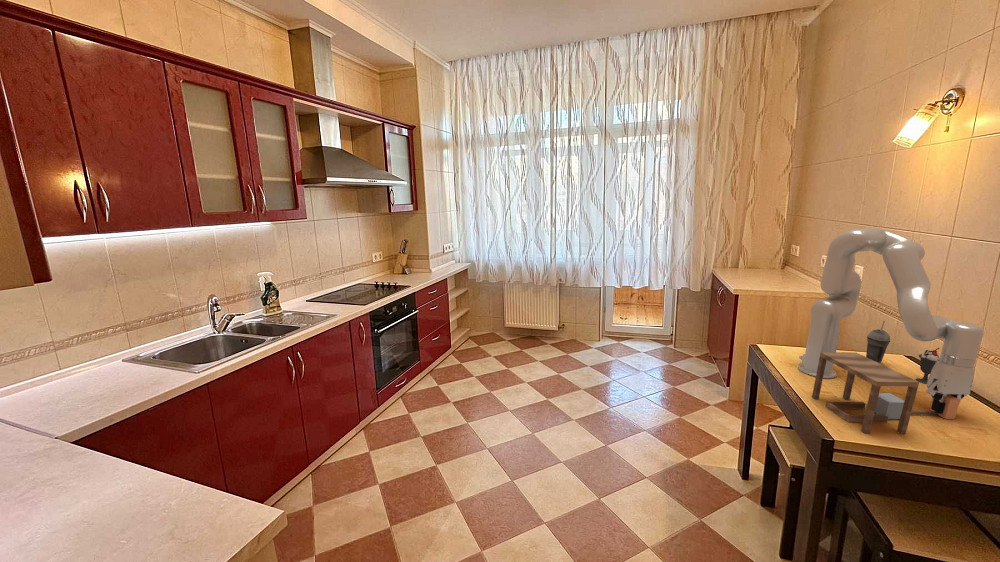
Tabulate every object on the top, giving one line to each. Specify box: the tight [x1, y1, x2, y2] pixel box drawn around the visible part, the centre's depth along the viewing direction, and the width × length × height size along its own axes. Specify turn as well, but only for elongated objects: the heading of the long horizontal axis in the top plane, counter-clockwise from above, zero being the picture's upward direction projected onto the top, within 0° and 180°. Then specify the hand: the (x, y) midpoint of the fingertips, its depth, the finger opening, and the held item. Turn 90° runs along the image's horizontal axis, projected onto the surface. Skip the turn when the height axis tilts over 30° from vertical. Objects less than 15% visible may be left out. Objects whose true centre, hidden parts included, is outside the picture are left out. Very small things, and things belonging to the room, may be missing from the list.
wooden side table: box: [811, 351, 920, 435], centre depth 132 cm, size 22×13×18 cm, turn 179°
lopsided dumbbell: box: [874, 392, 961, 420], centre depth 133 cm, size 6×23×7 cm, turn 89°
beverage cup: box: [865, 320, 891, 364], centre depth 170 cm, size 7×7×20 cm
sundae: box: [915, 347, 940, 385], centre depth 155 cm, size 7×7×15 cm
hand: (942, 411), depth 133 cm, fingers closed on lopsided dumbbell, 3 cm apart
